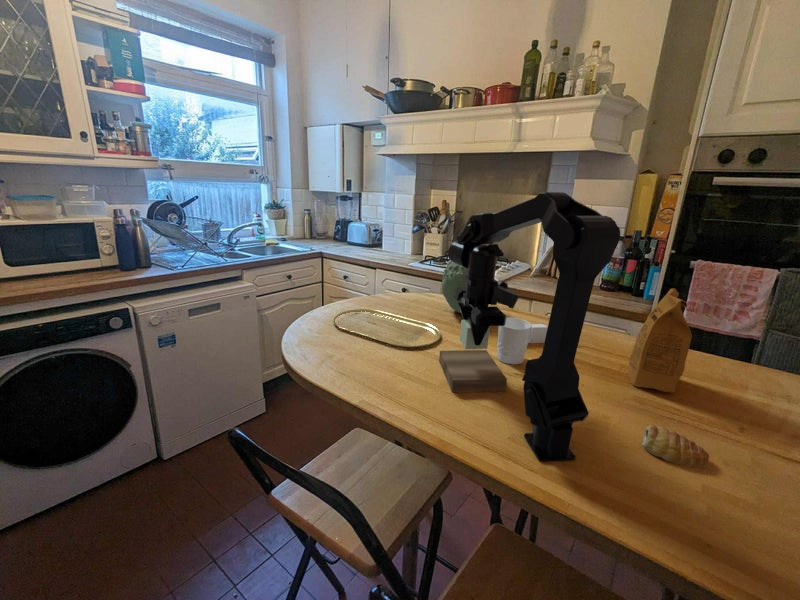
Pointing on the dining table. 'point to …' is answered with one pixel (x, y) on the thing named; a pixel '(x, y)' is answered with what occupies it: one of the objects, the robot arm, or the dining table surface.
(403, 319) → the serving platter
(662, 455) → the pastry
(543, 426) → the robot arm
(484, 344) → the sage cube
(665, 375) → the coffee package
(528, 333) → the white cup
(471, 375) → the walnut block
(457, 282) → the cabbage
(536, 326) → the napkin holder
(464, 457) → the dining table surface
